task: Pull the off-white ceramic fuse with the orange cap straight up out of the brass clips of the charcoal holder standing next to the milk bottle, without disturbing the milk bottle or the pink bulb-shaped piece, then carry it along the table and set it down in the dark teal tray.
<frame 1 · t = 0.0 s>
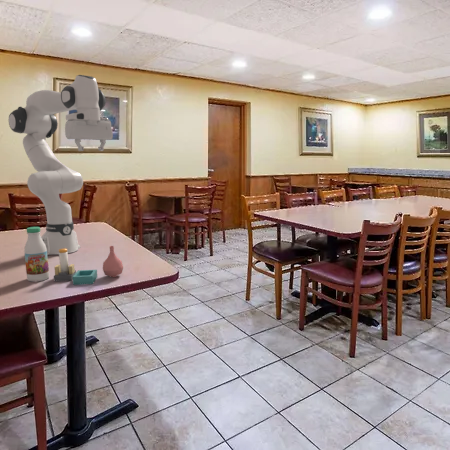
hand: (91, 150, 162), 48 cm above the table, fingers open, 8 cm apart
clip block: (65, 278, 150), on the table
fuse: (65, 273, 149), point 2 cm above the table, touching clip block
milk bottle: (38, 279, 149), on the table
pink bulb-shaped piece: (113, 276, 151), on the table
tray: (85, 280, 146), on the table
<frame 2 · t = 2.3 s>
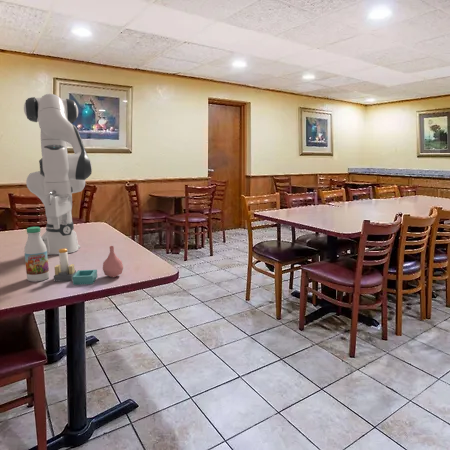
hand: (60, 226, 145), 20 cm above the table, fingers open, 8 cm apart
nothing on the table moved.
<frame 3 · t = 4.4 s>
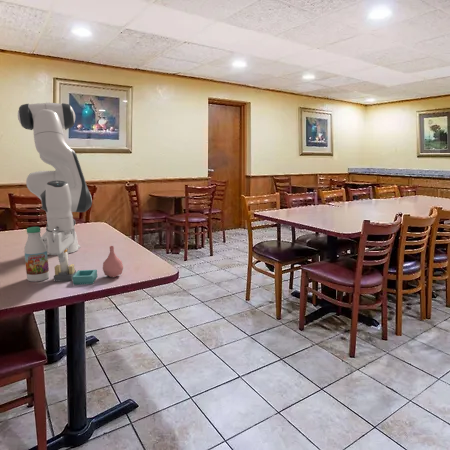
hand: (63, 260, 148), 7 cm above the table, fingers closed on fuse, 3 cm apart
fuse: (65, 273, 149), point 2 cm above the table, touching clip block, gripper
everything else where it was.
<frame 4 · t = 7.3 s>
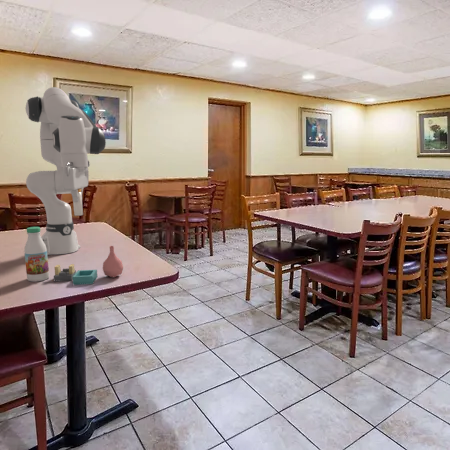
hand: (77, 201, 141), 30 cm above the table, fingers closed on fuse, 3 cm apart
fuse: (78, 215, 141), point 25 cm above the table, touching gripper
everything else where it was.
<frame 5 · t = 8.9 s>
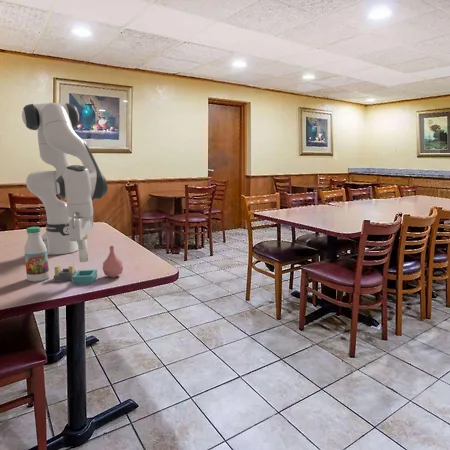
hand: (83, 247, 144), 13 cm above the table, fingers closed on fuse, 3 cm apart
fuse: (84, 261, 145), point 8 cm above the table, touching gripper
everything else where it was.
when the fingers open (7 cm above the table, at t = 10.1 s): fuse drops 1 cm, resting on tray.
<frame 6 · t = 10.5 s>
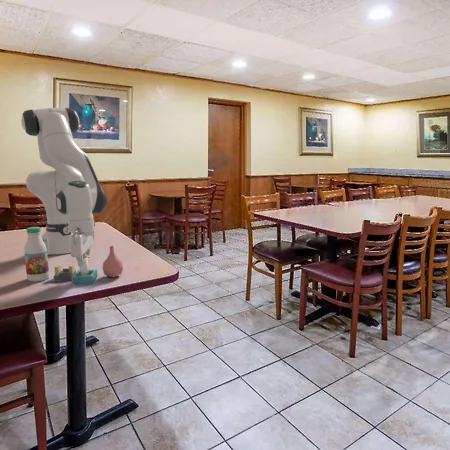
hand: (84, 262, 145), 7 cm above the table, fingers open, 8 cm apart
fuse: (85, 278, 146), point 1 cm above the table, touching tray
everything else where it was.
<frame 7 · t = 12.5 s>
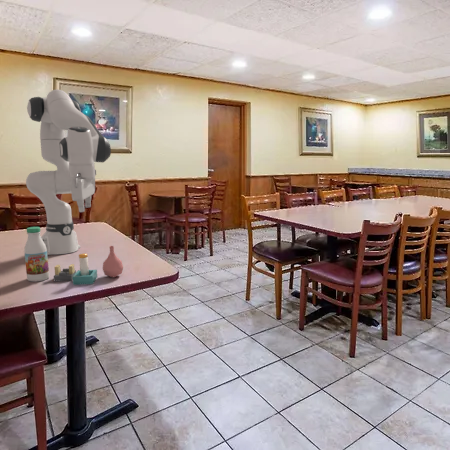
hand: (85, 209, 146), 26 cm above the table, fingers open, 8 cm apart
nothing on the table moved.
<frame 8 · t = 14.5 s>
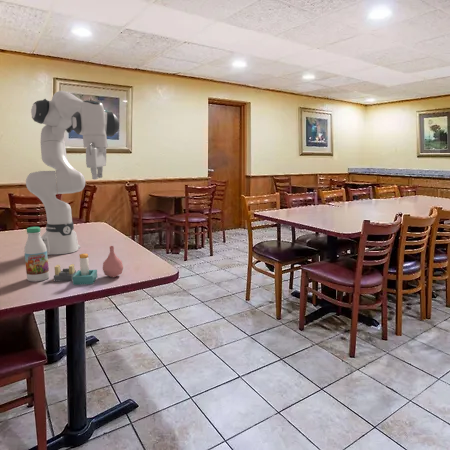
hand: (97, 178, 156), 37 cm above the table, fingers open, 8 cm apart
nothing on the table moved.
at the end: fuse inside the target area on the tray (0.1 cm from its centre), point 0.8 cm above the tray's base; milk bottle moved 0.2 cm from its start; pink bulb-shaped piece moved 0.2 cm from its start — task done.
